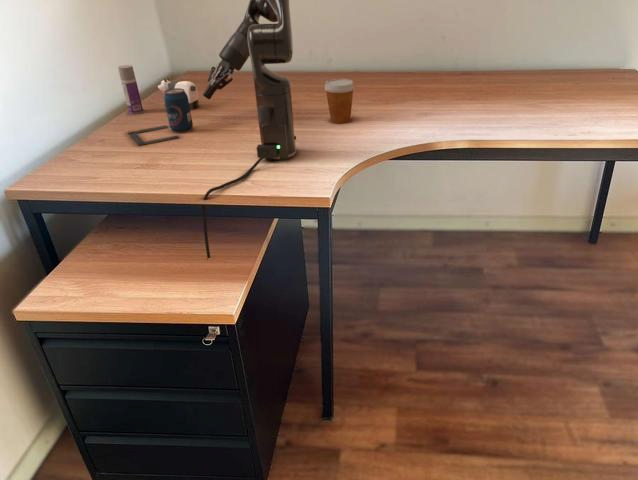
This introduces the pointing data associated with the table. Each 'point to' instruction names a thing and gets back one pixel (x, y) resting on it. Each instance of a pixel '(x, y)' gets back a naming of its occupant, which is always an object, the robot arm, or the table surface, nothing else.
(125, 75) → the container
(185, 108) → the soda can
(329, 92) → the disposable coffee cup
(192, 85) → the giant panda
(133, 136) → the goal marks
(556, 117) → the table surface
